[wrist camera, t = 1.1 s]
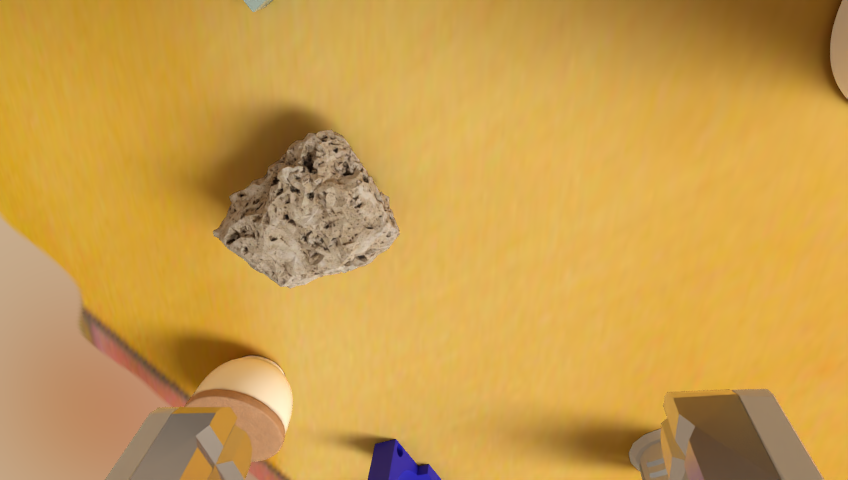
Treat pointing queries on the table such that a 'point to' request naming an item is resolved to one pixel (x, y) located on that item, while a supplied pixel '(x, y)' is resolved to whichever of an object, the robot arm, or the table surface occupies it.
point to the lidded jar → (251, 400)
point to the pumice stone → (310, 214)
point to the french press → (649, 457)
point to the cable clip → (397, 464)
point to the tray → (257, 4)
